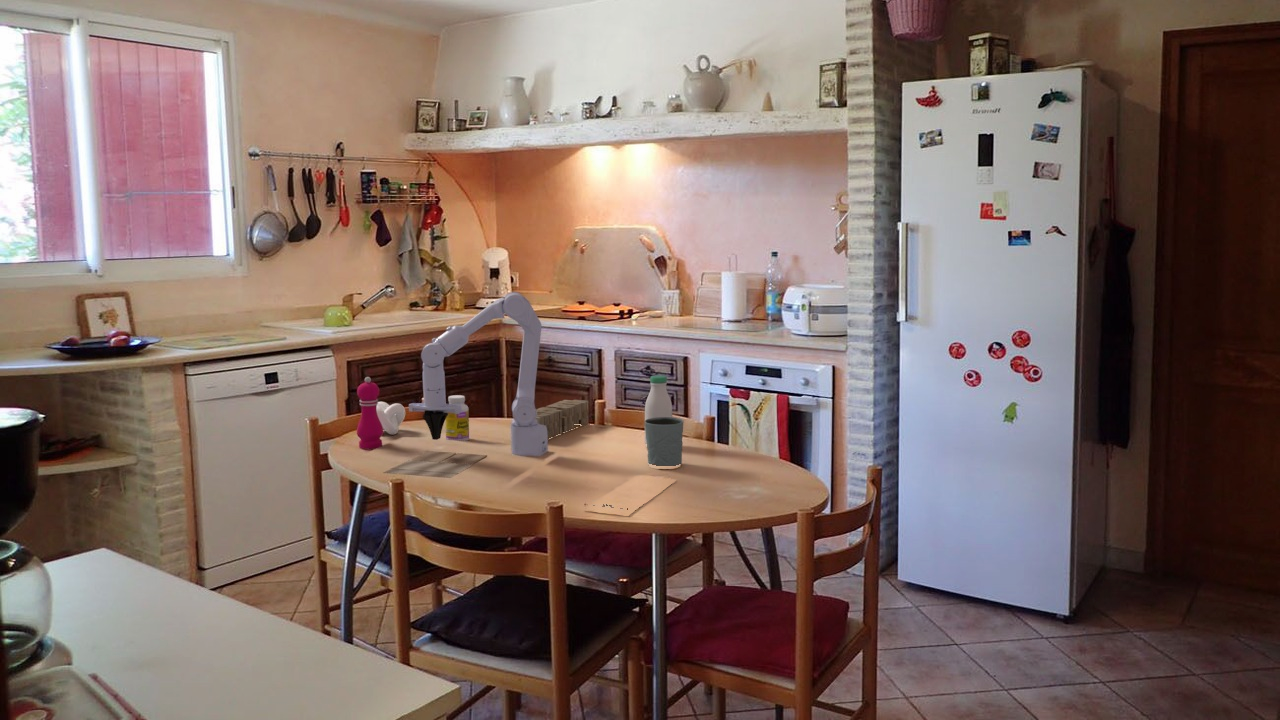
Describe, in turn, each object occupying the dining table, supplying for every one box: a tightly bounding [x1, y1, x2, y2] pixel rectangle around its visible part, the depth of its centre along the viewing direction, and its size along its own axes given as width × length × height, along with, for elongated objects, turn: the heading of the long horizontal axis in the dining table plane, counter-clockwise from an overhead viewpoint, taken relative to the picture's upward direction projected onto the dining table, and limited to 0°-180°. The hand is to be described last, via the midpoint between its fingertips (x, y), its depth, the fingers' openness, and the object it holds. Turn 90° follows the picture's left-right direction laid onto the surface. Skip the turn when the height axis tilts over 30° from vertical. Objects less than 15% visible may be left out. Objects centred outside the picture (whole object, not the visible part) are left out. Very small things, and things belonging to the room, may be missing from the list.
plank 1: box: [411, 450, 457, 463], centre depth 274 cm, size 8×9×1 cm
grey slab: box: [383, 459, 474, 479], centre depth 262 cm, size 18×13×1 cm
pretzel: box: [376, 401, 406, 436], centre depth 307 cm, size 11×12×9 cm
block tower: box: [535, 399, 589, 439], centre depth 307 cm, size 8×8×29 cm
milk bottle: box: [644, 374, 673, 445], centre depth 287 cm, size 8×8×20 cm
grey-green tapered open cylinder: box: [644, 416, 684, 466], centre depth 267 cm, size 10×10×12 cm
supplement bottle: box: [445, 394, 470, 442], centre depth 296 cm, size 7×7×13 cm
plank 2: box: [441, 452, 488, 465], centre depth 271 cm, size 8×9×1 cm
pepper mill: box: [356, 376, 384, 450], centre depth 288 cm, size 7×7×20 cm
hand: (436, 438), depth 274 cm, fingers closed
